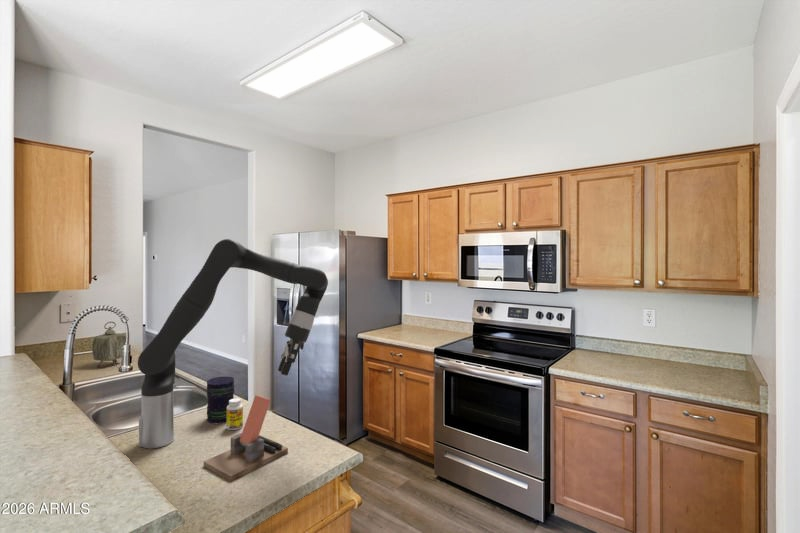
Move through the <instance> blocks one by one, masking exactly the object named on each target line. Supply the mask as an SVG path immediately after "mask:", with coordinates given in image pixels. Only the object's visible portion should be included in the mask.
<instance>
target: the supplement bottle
mask: <svg viewBox="0 0 800 533" xmlns="http://www.w3.org/2000/svg"><path fill="white" fill-rule="evenodd" d="M241 402H242V401H241V398H237V397H236V398H234V399H231V400H229V405H228V406H227V422H226V430H228V431H237V430H240V429H241V428H242V427H244V426H243V425H244V405H243V403H241Z"/></svg>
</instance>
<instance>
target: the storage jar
mask: <svg viewBox="0 0 800 533" xmlns="http://www.w3.org/2000/svg"><path fill="white" fill-rule="evenodd" d="M234 395H235V378H234V377H232V376H216V377H212V378H210V379H208V380H206V397H207V406H206V417H207V418H206V421H208V422H207V423H209V424H213V423H218V424H224V423H227V406H228V405H229V400H231V399H235V398H234ZM223 422H224V423H223Z"/></svg>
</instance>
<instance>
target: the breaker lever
mask: <svg viewBox="0 0 800 533" xmlns="http://www.w3.org/2000/svg"><path fill="white" fill-rule="evenodd" d="M271 401H272V399H271V398H267V397H265V396H260V395H256V394H254V397H253V401H252V404H251V407H250V410H249V412H248V414H247V419H246V421H245V423H244V426H243V428H242V432H241V433H242V435H241V437H240V440H239V441H240V444H241V445H243V446H245V447H246V444H247V443H250V442H252V441H254V440H257V439H258V436H259V435H260V433H261V430H262V427H263V424H264V421H265V418H266V415H267V412H268V410H269V407H270V404H271Z"/></svg>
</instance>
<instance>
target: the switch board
mask: <svg viewBox="0 0 800 533" xmlns="http://www.w3.org/2000/svg"><path fill="white" fill-rule="evenodd" d="M241 435H242V432H241V433H238V434H236V435H235V434H234V435H233V436H231V437H230V449H229V450H227V451H224V452H222V453H220V454H218V455H215V456H213V457H210V458H209V459H206V460H204V461H203V467H204V468H206V469H207V470H209V471H212V472H213V473H215V474H216V475H219V476H221V477H223V478H224V479H225V480H228V481H229V482H233V481H235V480H237V479H239V478H241V477H243V476H244V475H247V474H248V473H251V472H252V470H253V471H254V470H255V471H256V468H257V469H258V467H259V468H261V467H262V465H263V466H264V464H265V465H267V464H268V462H269V463H270V461H271V462H273V461H274V459H275V460H276V459H278V458H280V457H283V456H284V455H286V454H288V453H289V448H288V447H286V446H284V445H283V444H282V443H279V442H276V441H274V440H271V439H269V438H267V437H265V436H262V435H260V434H259V436H258V439H257V440H254V441H252V442H250V443H247V444H246V447H245V446H243V445H241V444H240V441H239V440H240V437H241ZM272 460H273V461H272ZM266 463H267V464H266ZM260 466H261V467H260Z"/></svg>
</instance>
